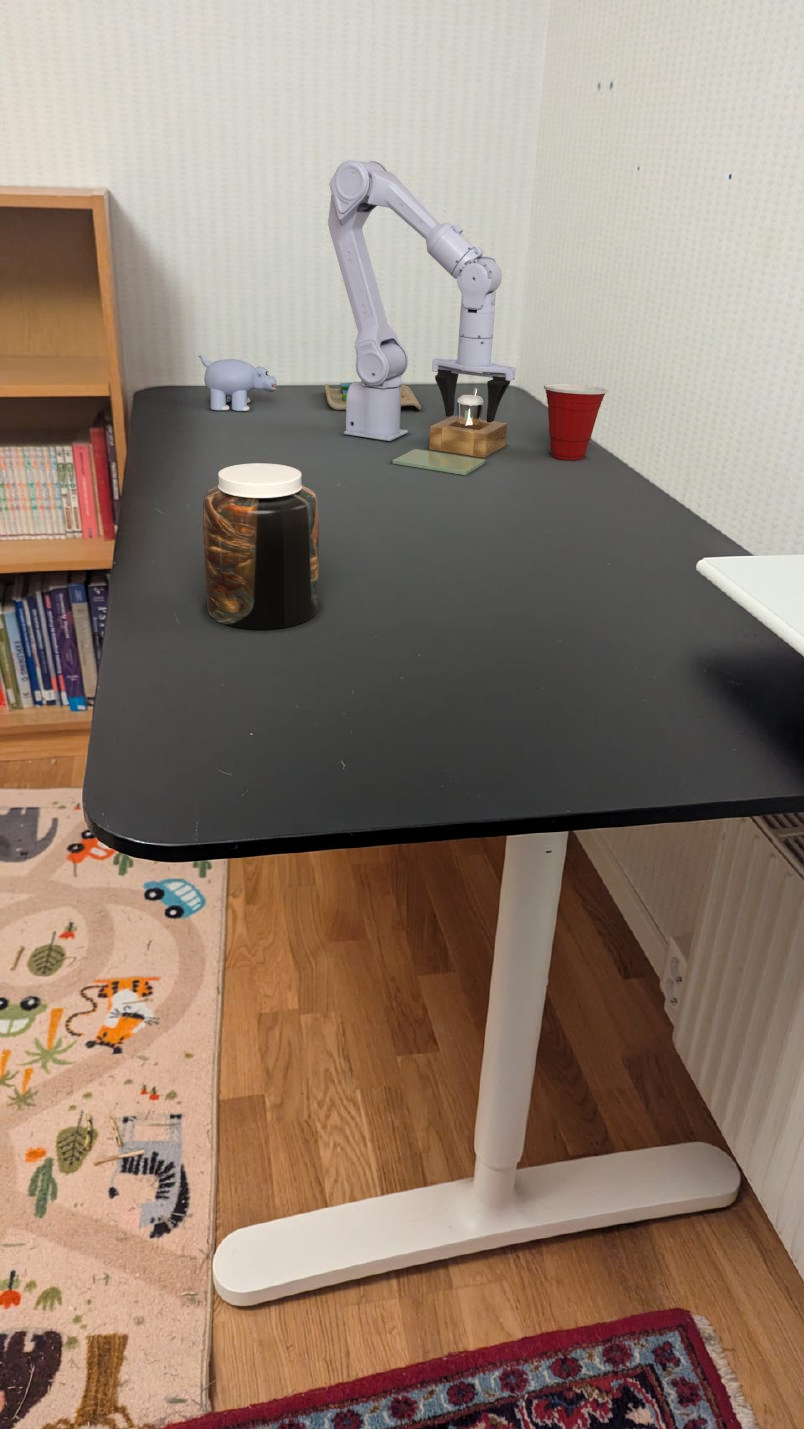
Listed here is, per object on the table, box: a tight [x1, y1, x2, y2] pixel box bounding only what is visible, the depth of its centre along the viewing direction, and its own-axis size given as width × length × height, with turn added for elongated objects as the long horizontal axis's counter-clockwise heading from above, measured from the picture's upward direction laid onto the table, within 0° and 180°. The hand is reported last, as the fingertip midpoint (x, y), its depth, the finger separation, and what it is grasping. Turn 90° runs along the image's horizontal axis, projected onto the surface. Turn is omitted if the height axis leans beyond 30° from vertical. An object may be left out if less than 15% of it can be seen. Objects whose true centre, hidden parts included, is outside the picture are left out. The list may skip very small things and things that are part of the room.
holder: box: [428, 415, 508, 459], centre depth 178 cm, size 10×10×4 cm
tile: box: [392, 448, 486, 476], centre depth 169 cm, size 13×9×1 cm
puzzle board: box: [323, 381, 422, 411], centre depth 209 cm, size 18×19×4 cm
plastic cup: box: [543, 383, 609, 461], centre depth 174 cm, size 11×11×12 cm
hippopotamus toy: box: [197, 354, 278, 412], centre depth 199 cm, size 11×15×10 cm
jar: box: [202, 462, 320, 630], centre depth 107 cm, size 12×12×15 cm
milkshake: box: [456, 386, 485, 430], centre depth 177 cm, size 4×5×10 cm
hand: (469, 418), depth 177 cm, fingers open, 7 cm apart
